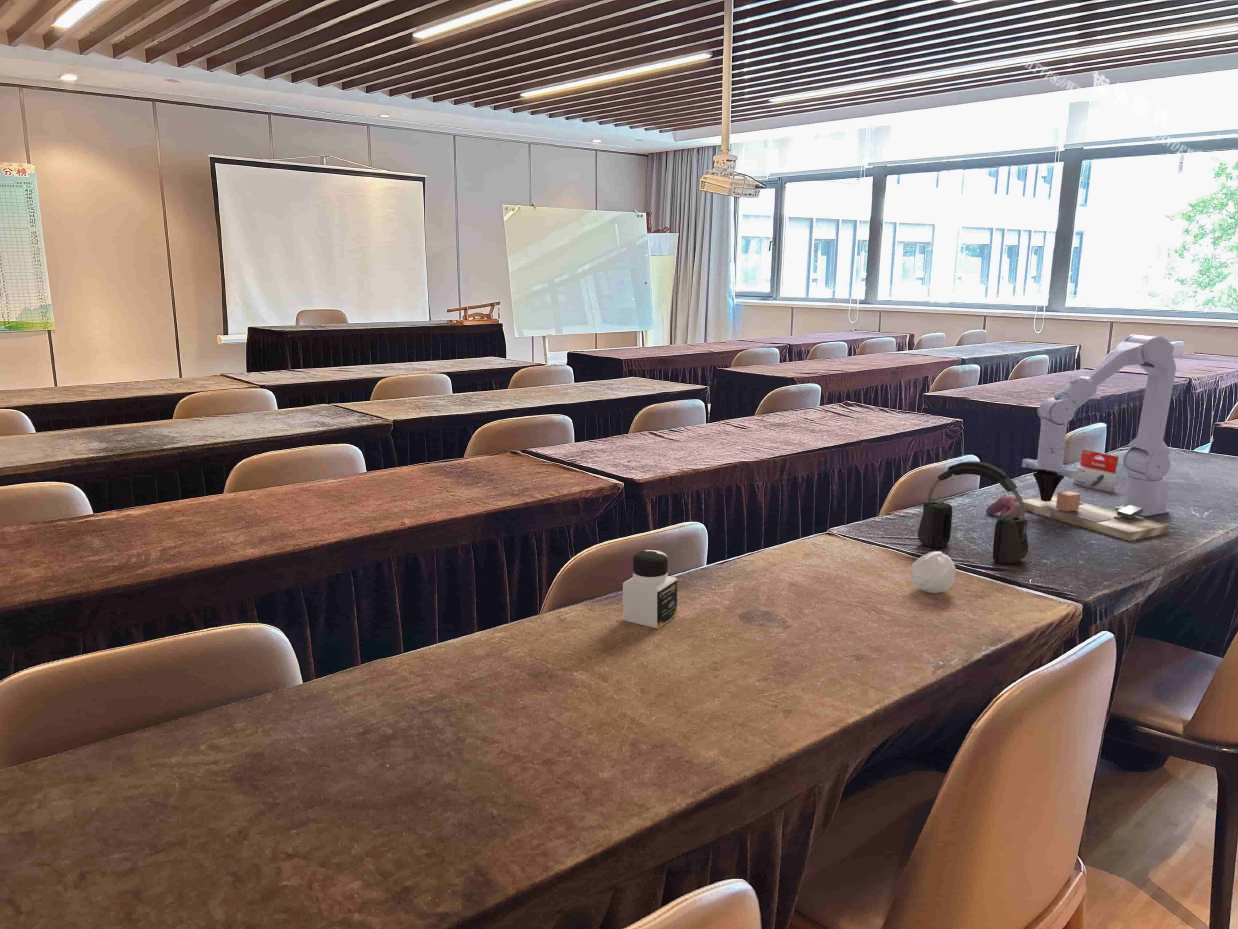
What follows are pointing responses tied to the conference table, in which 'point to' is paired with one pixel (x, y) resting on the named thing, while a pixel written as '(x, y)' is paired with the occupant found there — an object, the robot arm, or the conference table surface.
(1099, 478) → the ink cartridge box
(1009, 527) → the headphones
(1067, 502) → the slide paddle
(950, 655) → the conference table surface
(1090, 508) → the control panel
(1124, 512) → the rocker switch
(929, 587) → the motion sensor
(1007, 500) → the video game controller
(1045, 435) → the robot arm
